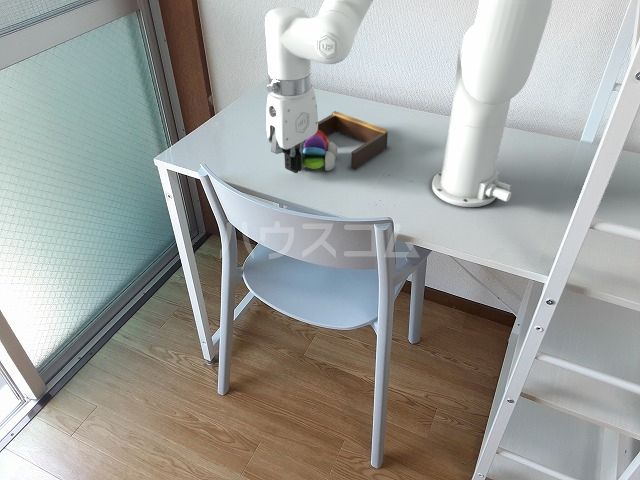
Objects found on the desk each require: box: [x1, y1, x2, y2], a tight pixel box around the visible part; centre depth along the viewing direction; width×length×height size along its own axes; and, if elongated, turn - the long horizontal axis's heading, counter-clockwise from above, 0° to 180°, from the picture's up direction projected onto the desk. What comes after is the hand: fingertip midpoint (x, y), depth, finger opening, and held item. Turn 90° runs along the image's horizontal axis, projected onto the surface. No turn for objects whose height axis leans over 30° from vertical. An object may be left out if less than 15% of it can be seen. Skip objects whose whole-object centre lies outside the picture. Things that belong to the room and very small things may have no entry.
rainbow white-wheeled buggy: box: [301, 130, 338, 172], centre depth 107 cm, size 8×10×7 cm
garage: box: [318, 110, 389, 171], centre depth 113 cm, size 15×12×4 cm
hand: (293, 169), depth 105 cm, fingers closed
